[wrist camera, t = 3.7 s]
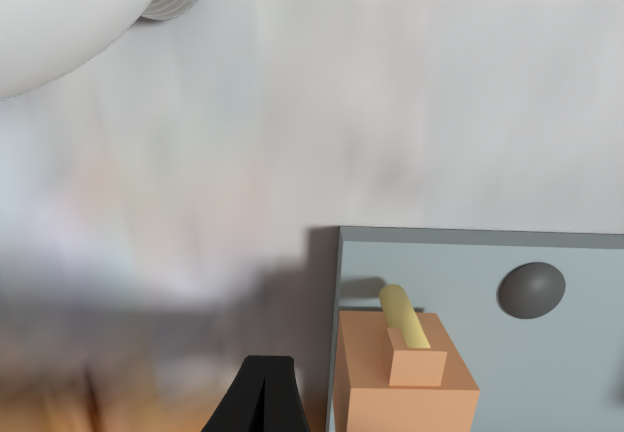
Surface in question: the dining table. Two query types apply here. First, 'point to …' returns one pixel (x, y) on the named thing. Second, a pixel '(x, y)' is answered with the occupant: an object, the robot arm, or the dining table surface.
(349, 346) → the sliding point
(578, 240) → the gauge board
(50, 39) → the lightbulb
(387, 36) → the dining table surface
